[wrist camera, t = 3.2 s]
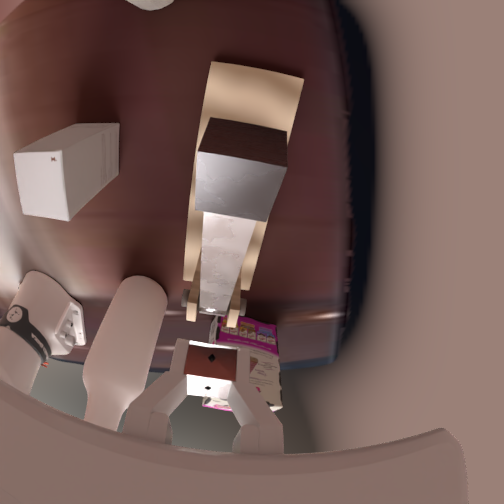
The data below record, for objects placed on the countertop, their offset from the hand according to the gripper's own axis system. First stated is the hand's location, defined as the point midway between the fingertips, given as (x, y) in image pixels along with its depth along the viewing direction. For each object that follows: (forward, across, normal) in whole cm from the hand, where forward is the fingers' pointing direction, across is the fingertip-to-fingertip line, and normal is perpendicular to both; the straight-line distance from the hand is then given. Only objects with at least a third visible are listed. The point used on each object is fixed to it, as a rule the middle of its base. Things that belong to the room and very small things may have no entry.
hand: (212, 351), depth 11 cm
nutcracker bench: (+26, 0, +3) cm, 26 cm away
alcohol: (+25, +13, +24) cm, 37 cm away
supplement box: (+26, +19, 0) cm, 32 cm away
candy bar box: (+26, -5, +28) cm, 39 cm away
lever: (+14, 0, +2) cm, 14 cm away
